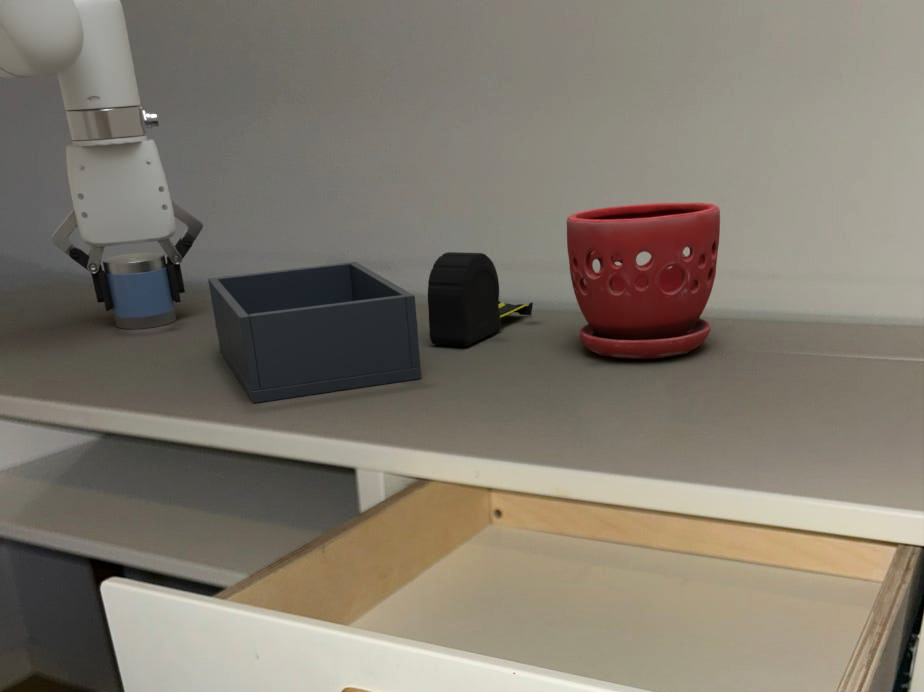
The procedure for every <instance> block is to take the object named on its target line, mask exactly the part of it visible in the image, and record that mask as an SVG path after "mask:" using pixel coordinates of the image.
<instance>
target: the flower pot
mask: <svg viewBox="0 0 924 692" xmlns="http://www.w3.org/2000/svg"><path fill="white" fill-rule="evenodd" d="M720 233H721V209H720V207H719V206H718V205H716V204H714V203H707V202H658V203H642V204H641V203H640V204H630V205H629V204H627V205H617V206H608V207H602V208H594V209H589V210H584V211H579V212H575V213H573V214H570V215H569V216H568V217H567V218H566V245H567V247H566V248H567V254H568V255H567V256H568V264H569V275H570V279H571V284H572V289H573V292H574V296H575V298H576V302H577V304H578V307H579V309H580V312H581V313H582V315H583V317H584V320H585V321H586V322H587V324H585V325H583V327H581V329H580V331H579V339H580V341H581V343H582V344H583V345H584V346H585V347H586V348H587V349H588V350H590V351H591V352H593V353H594V354H595V353H596V354H597V356H599V357H609V358H610V357H611V358H618V359H626V360H627V359H628V360H646V359H649V360H650V359H651V360H652V359H660V358H669V357H674V356H678V355H681V356H682V355H688V354H689V352H690V351H693V350H694V349H696V348H697V347H699V346H700V345H702V344H703V342H705V341H706V339H707V338H708V336H709V335H710V333H711V323H710V322H709V321H707V320H705V319H703V318H701V316H702V314H703V313H704V310H705V308H706V306H707V304H708V301H709V299H710V297H711V294H712V290H713V287H714V283H715V279H716V275H717V274H716V273H717V262H718V254H719V245H720ZM686 248H688V249H689V254H688V255H685V254H684V253H683V252H684V251H685V249H686ZM643 252H645V253H649V255H650V258H649V260H648V261H647V262H646V263H643V264H638V262H637V258H638V255H639V254H640V253H643ZM595 260H597V261H598V262H599V270H598V272H596V271H595V269H594V266H593V264H594V261H595ZM617 263H620V264H617Z"/></svg>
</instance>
